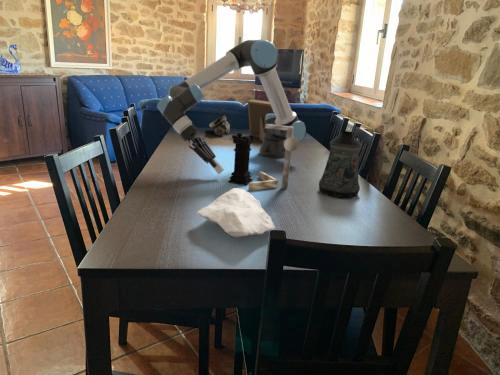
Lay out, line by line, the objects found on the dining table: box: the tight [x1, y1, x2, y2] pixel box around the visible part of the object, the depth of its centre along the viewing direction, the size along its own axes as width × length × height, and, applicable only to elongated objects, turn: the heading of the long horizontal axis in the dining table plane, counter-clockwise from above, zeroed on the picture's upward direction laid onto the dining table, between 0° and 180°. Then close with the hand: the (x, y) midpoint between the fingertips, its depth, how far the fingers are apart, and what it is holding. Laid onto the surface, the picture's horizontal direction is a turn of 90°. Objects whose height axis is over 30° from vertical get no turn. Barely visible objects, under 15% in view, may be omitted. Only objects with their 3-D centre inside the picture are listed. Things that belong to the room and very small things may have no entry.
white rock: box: [196, 187, 276, 238], centre depth 114 cm, size 24×35×9 cm
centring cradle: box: [248, 124, 299, 192], centre depth 152 cm, size 19×17×26 cm
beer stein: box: [318, 130, 363, 200], centre depth 150 cm, size 16×19×25 cm
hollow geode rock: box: [208, 114, 231, 137], centre depth 254 cm, size 28×13×15 cm
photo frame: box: [247, 98, 274, 142], centre depth 246 cm, size 15×22×25 cm
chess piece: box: [228, 132, 256, 187], centre depth 154 cm, size 8×8×20 cm
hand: (221, 172), depth 158 cm, fingers closed
